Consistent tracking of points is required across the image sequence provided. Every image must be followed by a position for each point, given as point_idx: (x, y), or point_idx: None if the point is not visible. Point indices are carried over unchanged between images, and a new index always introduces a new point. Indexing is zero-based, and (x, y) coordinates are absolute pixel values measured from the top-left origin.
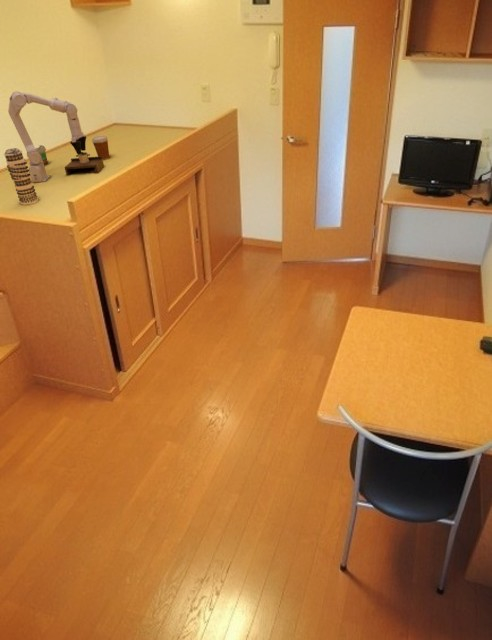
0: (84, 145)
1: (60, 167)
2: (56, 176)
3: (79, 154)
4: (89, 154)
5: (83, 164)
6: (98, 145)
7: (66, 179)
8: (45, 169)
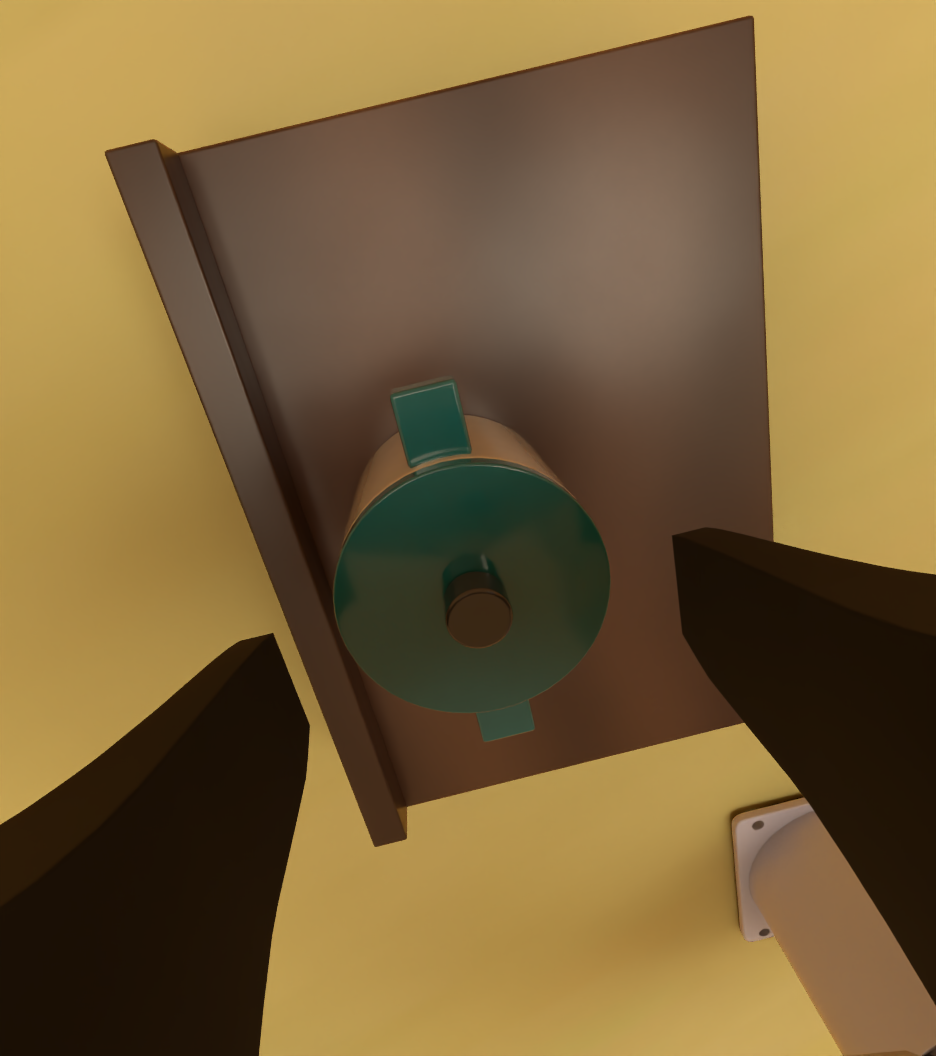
0: (210, 729)
1: (347, 917)
2: (735, 748)
3: (565, 635)
4: (430, 384)
5: (655, 427)
6: None
7: (908, 530)
8: (861, 910)
